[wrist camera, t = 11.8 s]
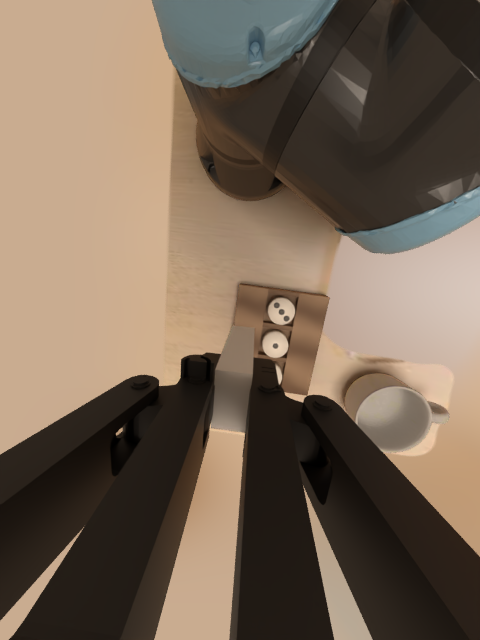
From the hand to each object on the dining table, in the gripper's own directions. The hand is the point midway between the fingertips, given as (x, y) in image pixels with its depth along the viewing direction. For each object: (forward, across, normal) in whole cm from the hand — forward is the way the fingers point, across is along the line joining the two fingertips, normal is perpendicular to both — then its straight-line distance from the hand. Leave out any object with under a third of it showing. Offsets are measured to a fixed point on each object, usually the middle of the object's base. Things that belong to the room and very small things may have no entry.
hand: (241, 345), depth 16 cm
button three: (+23, +5, -1) cm, 23 cm away
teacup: (+24, +24, -15) cm, 38 cm away
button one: (+23, +5, -7) cm, 24 cm away
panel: (+24, +5, -7) cm, 25 cm away
